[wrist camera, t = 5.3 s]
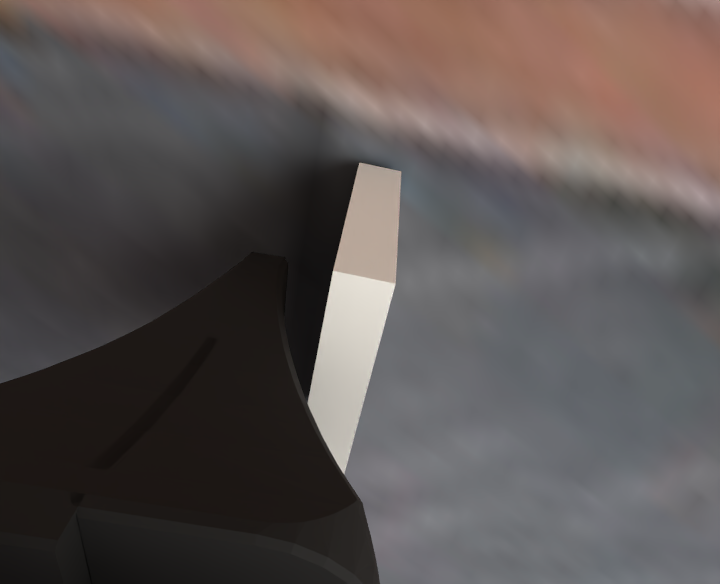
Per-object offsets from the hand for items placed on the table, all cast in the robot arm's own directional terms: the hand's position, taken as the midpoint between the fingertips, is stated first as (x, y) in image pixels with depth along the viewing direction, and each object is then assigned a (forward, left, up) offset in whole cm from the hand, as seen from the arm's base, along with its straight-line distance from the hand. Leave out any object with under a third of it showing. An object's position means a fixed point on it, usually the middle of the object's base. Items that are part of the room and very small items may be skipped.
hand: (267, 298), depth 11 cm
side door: (-1, -1, -1) cm, 2 cm away
